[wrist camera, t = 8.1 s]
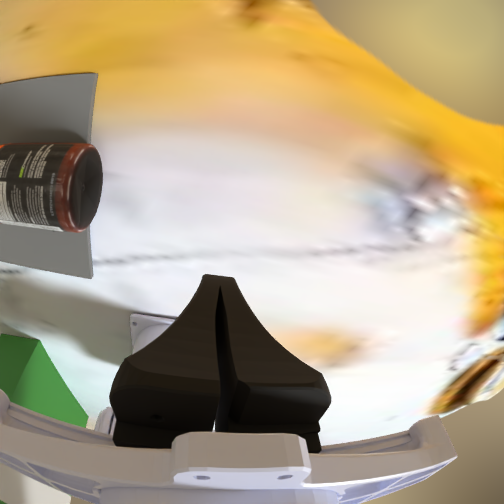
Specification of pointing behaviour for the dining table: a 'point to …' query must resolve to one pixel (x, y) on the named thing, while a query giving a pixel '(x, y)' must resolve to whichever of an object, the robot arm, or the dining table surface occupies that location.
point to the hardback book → (38, 400)
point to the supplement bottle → (50, 185)
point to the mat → (47, 131)
